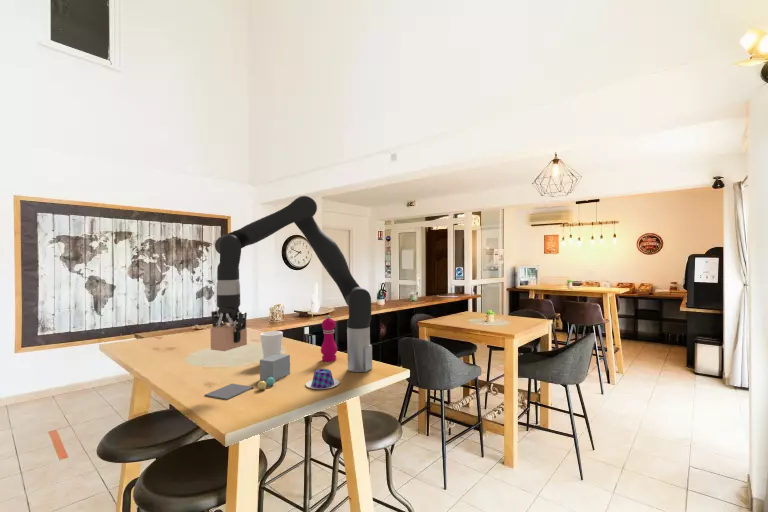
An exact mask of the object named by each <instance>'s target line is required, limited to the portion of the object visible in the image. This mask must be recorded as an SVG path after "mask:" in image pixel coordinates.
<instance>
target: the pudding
mask: <svg viewBox="0 0 768 512" xmlns="http://www.w3.org/2000/svg"><path fill="white" fill-rule="evenodd" d="M339 384H340V380H338V379H336V378H334V377H333V374H332V370H331V369H328V368H318V369H317V370H315V371H314V373H313V377H312V379H311V380H308V381H306V383H305V386H306V387H307V388H309V389H314V390H320V389H321V390H326V389H331V388H334V387H336V386H338V385H339ZM311 386H312V387H311Z"/></svg>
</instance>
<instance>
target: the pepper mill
mask: <svg viewBox="0 0 768 512" xmlns="http://www.w3.org/2000/svg"><path fill="white" fill-rule="evenodd" d="M321 327H322V331H323V332H322V333H323V342H322V344H321V348H320V354H322V356H321V361H323V362H326V363H329V362H335V361H336V360H337V352H338V347H337V343H336V342H335V339H334V338H335V337H334V334H335V327H336V321H335V319H332V318H331V315H330V314H328V315H327V316H326V318H325V319H323V321H321Z"/></svg>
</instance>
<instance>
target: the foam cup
mask: <svg viewBox="0 0 768 512" xmlns="http://www.w3.org/2000/svg"><path fill="white" fill-rule="evenodd" d="M283 333H284V332H283V331H279V330H278V331H277V330H274V331H273V330H272V331H265V332H264V331H263V332H261V333H260V335H259V337H260V343H261V348H262V349H261V350H262V355H263V359H264V358H266V357H269V356H272V355H274V354H282V353H281V352H282V344H283V338H284V336H283Z"/></svg>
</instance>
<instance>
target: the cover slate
mask: <svg viewBox="0 0 768 512" xmlns="http://www.w3.org/2000/svg"><path fill="white" fill-rule="evenodd" d="M290 374H291V354H286V353H285V354H284V353H281V354H274V355H272V356H269V357H266V358H264V357H263V358H261V359H259V380H260V381H265V382H266V380H267V379H268V378H269V377H273V378H274V379H275V382H276V381H277V380H280V379H282V378H284V377H286V376H288V375H290Z"/></svg>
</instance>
